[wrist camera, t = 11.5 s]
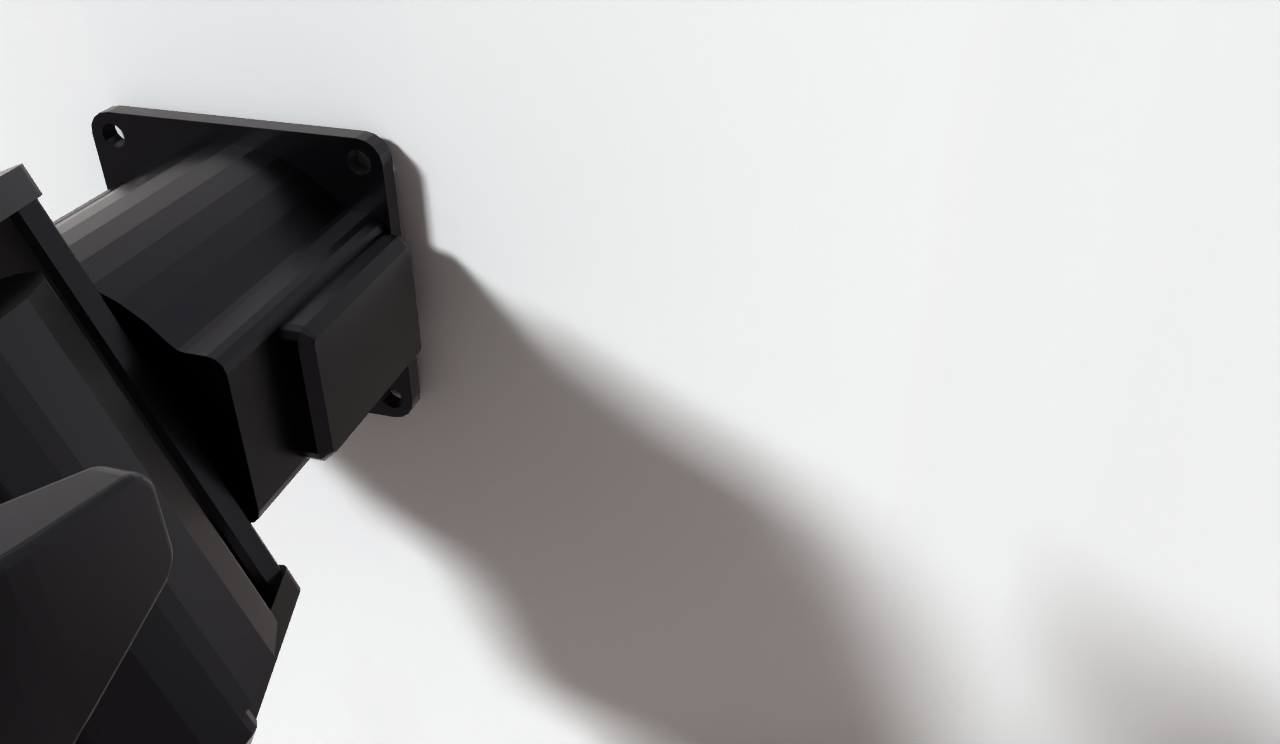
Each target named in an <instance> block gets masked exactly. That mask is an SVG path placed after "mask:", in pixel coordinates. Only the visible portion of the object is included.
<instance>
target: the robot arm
mask: <svg viewBox="0 0 1280 744" xmlns="http://www.w3.org/2000/svg"><path fill="white" fill-rule="evenodd" d="M115 125H116V126H117V127H118V128H119V129H120V130H121V131H122V133H123V135H124V137H125V139H123V138H122V137H121V136H120V135H119V134H118V133H117V131H116V129H115ZM92 134H93V137H94V141H95V145H96V148H97V152H98V156H99V159H100V163H101V167H102V170H103V174H104V178H105V181H106V185H107V189H108V190H107V191H105V192H104V193H102V194H100V195H98V196H97V197H95V198H93V199H92V200H90V201H88V202H87V203H85V204H83V205H81V206H80V207H78V208H76V209H75V210H73V211H71V212H70V213H68V214H66V215H64V216H63V217H61V218H59V219H58V220H56V221H54V222H52V220H51V219H50V217H49V216H48V214H47V213H46V211H45V210H44V208H43V207H42V205H41V204H40V202H39V201H38V199H37V198H38V197H40V196H41V195H42V193H41V191H40V190H39V188H38V187H37V185H36V184H35V182H34V181H33V179H32V178H31V176H30V175H29V173H28V172H27V170H26V169H25V167H24V165H23V164H19V165H16V166H14V167H11V168H9V169H6V170H4V171H1V172H0V744H251V742H252V739H253V736H254V734H255V731H256V728H257V720H256V718H257V715H258V712H259V709H260V706H261V703H262V701H263V698H264V695H265V692H266V689H267V686H268V683H269V680H270V677H271V674H272V672H273V669H274V666H275V663H276V660H277V657H278V654H279V651H280V648H281V645H282V643H283V640H284V637H285V634H286V631H287V628H288V625H289V622H290V619H291V616H292V613H293V611H294V608H295V605H296V602H297V599H298V596H299V593H300V587H299V586H298V584H297V583H296V581H295V579H294V578H293V576H292V575H291V573H290V572H289V570H288V569H287V567H286V566H285V565H278V564H277V562H276V561H275V559H274V558H273V556H272V555H271V553H270V552H269V550H268V549H267V547H266V546H265V544H264V543H263V541H262V540H261V538H260V537H259V535H258V533H257V532H256V530H255V529H254V527H253V526H252V524H251V522H255V521H256V520H257V519H259V517H260V516H261V515H262V514H263V513H264V512H265V510H266V509H267V508H268V507H269V506H270V505H271V503H272V502H273V501H274V500H275V499H276V498H277V496H278V495H279V494H280V493H281V492H282V491H283V489H284V488H285V487H286V486H287V485H288V484H289V482H290V481H291V480H292V479H293V478H294V477H295V475H296V474H297V473H298V472H299V471H300V470H301V468H302V467H303V466H304V465H305V464H306V463H307V461H308V460H309V459H310V458H311V459H316V460H322V461H325V460H326V459H328V458H329V457H330V456H331V455H333V454H334V453H335V452H336V451H337V450H338V449H339V448H340V446H341V445H342V444H343V443H344V442H345V440H346V439H347V438H348V437H349V436H350V434H351V433H352V432H353V431H354V430H355V428H356V427H357V426H358V425H359V424H360V422H361V421H362V420H363V419H364V418H365V416H366V415H367V414H368V413H374V414H380V415H386V416H392V417H402V416H405V415H407V414H408V413H409V412H410V411H411V410H412V408H413V407H414V406H415V404H416V403H417V402H418V400H419V399H420V386H419V378H418V370H417V361H416V355H417V354H418V353H419V351H420V350H421V340H420V331H419V323H418V314H417V306H416V297H415V289H414V280H413V272H412V263H411V255H410V248H409V247H408V245H407V243H406V242H405V240H404V239H403V238H402V237H401V230H400V222H399V213H398V205H397V197H396V189H395V181H394V172H393V164H392V157H391V154H390V151H389V148H388V147H387V145H386V144H385V142H384V141H383V140H382V139H381V138H379V137H378V136H377V135H375V134H373V133H370V132H367V131H360V130H350V129H341V128H331V127H321V126H312V125H302V124H292V123H283V122H273V121H264V120H254V119H244V118H235V117H225V116H215V115H206V114H196V113H187V112H177V111H167V110H158V109H148V108H138V107H129V106H113V107H110V108H108V109H106V110H104V111H102V112H100V113H99V114H98V115H96V116H95V117H94V119H93V122H92ZM357 150H358V151H361V152H364V153H365V154H366V155H367V156H368V157H369V159H370V162H371V168H369V167H366V166H364V165H363V164H362V163H361V162H360V161H359V160H358V157H357V154H356V153H357ZM390 388H391V389H393V390H396V391H397V392H398V393H399V394H400V395H401V397H402V398H399V397H396V396H395V395H394V394H393V393H391V391H390Z"/></svg>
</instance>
